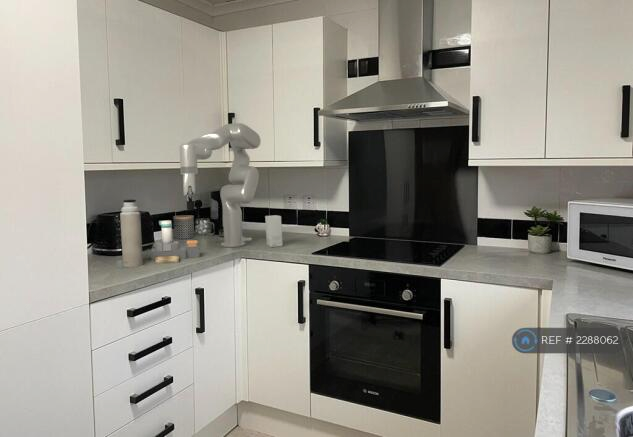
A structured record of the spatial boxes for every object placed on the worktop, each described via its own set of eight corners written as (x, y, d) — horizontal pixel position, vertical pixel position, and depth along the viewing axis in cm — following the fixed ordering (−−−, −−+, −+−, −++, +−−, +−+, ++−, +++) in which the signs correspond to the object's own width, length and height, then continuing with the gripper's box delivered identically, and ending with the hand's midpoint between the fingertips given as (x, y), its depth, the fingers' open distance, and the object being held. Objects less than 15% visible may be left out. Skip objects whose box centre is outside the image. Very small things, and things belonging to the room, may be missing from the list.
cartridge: (173, 248, 234) (171, 219, 233) (172, 249, 230) (171, 221, 228) (160, 248, 233) (159, 220, 231) (160, 250, 228) (159, 221, 227)
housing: (199, 254, 240) (198, 239, 239) (199, 257, 231) (199, 242, 230) (152, 256, 235) (151, 241, 234) (151, 260, 225) (150, 245, 225)
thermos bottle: (119, 265, 216) (115, 199, 213) (136, 262, 222) (132, 198, 219) (129, 267, 211) (125, 200, 208) (146, 264, 217) (143, 199, 214)
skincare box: (282, 246, 258) (282, 216, 256) (270, 247, 255) (269, 216, 254) (277, 244, 266) (277, 214, 264) (265, 245, 263) (264, 215, 262)
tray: (179, 259, 228) (179, 255, 228) (179, 262, 221) (178, 258, 221) (156, 260, 226) (155, 257, 226) (155, 263, 219) (154, 260, 218)
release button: (197, 253, 237) (197, 240, 237) (197, 255, 233) (197, 241, 232) (187, 254, 236) (186, 240, 235) (187, 255, 232) (186, 242, 231)
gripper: (180, 170, 238) (182, 208, 240) (180, 171, 221) (182, 211, 223) (197, 170, 239) (198, 207, 241) (198, 171, 223) (199, 210, 225)
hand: (190, 209), depth 232 cm, fingers open, 8 cm apart
